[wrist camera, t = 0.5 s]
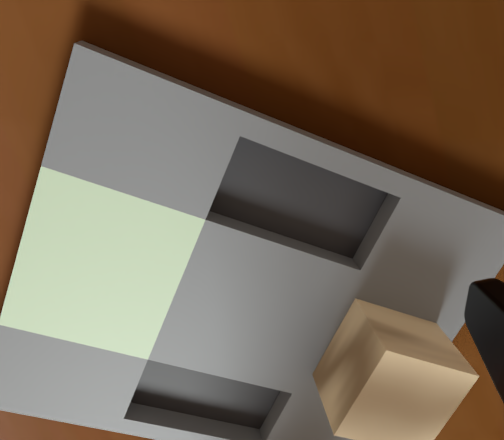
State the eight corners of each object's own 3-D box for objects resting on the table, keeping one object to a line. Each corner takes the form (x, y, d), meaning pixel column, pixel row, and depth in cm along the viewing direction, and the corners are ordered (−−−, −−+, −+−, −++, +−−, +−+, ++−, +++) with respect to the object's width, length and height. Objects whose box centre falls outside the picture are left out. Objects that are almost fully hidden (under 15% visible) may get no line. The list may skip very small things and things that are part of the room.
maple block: (390, 394, 27) (423, 454, 23) (312, 374, 26) (333, 435, 22) (436, 323, 25) (479, 376, 22) (355, 298, 24) (386, 350, 20)
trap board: (352, 457, 31) (360, 478, 29) (-13, 383, 25) (-24, 405, 23) (510, 213, 25) (529, 225, 24) (81, 40, 19) (74, 43, 18)
